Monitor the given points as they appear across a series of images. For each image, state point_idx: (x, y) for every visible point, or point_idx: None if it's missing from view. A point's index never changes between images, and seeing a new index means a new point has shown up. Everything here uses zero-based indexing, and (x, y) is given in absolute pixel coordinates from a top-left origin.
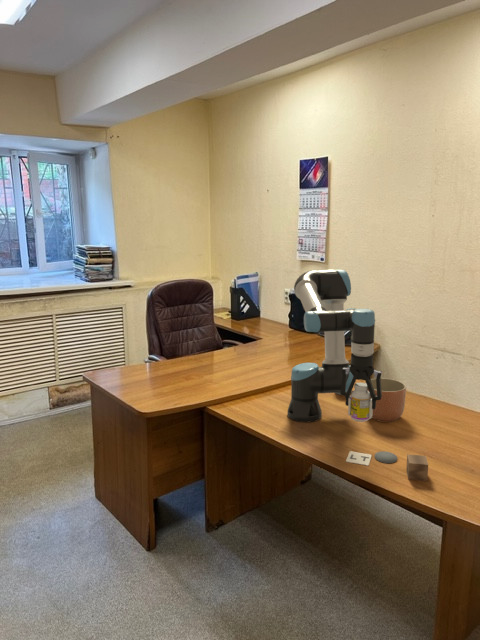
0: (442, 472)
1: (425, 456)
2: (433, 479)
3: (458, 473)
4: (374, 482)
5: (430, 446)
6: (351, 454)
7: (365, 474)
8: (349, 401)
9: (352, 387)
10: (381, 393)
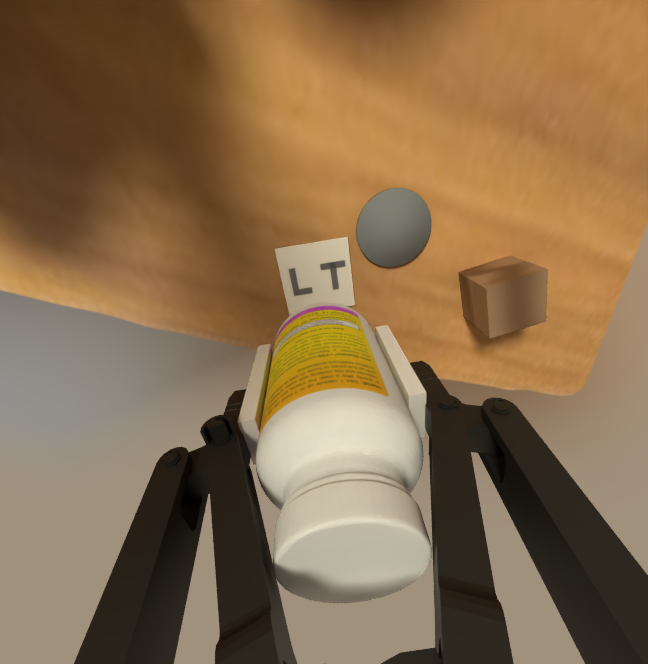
0: (561, 233)
1: (546, 273)
2: None
3: (609, 214)
4: None
5: (558, 18)
6: (288, 269)
7: None
8: None
9: (270, 562)
10: (532, 435)
